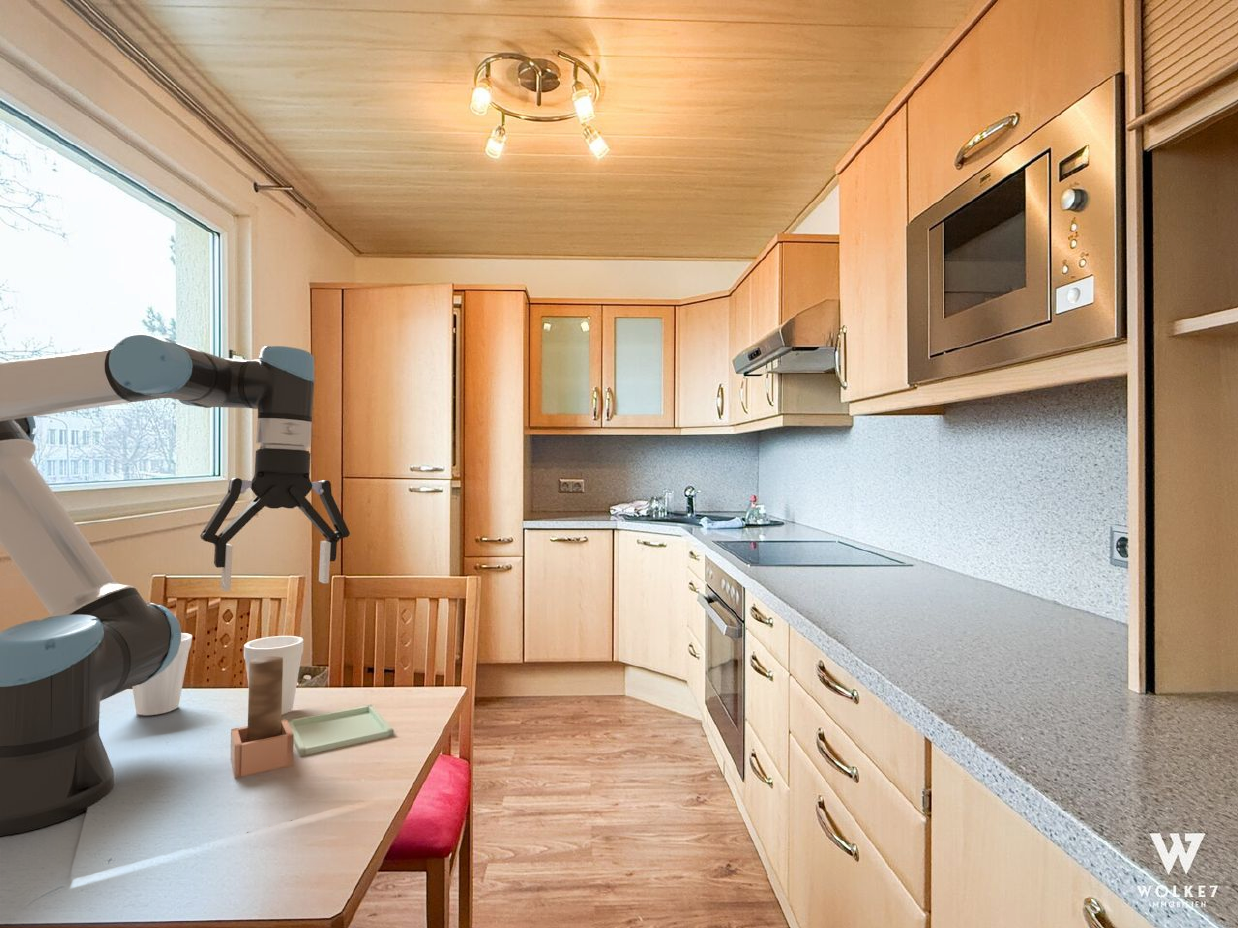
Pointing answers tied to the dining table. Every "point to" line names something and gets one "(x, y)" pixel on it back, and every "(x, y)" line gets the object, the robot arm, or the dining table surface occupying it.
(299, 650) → the foam cup
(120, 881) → the dining table surface
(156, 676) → the cup
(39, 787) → the robot arm
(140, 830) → the dining table surface
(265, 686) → the dowel
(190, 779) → the dining table surface
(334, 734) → the tray
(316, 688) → the dining table surface
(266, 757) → the orange open box
